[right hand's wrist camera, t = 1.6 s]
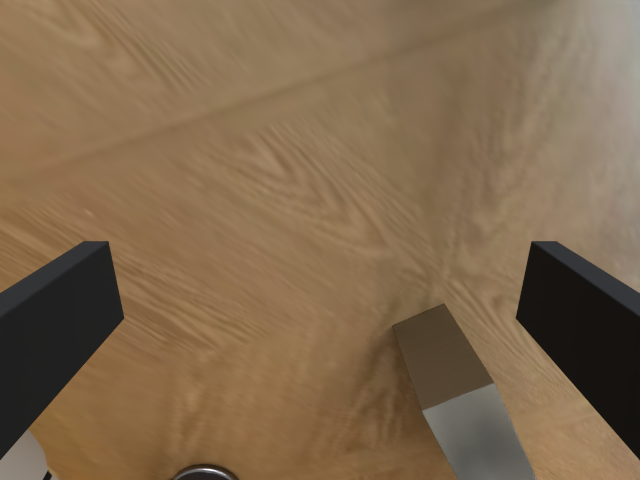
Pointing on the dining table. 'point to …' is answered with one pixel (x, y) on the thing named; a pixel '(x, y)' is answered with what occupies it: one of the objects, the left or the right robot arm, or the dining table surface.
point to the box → (460, 399)
